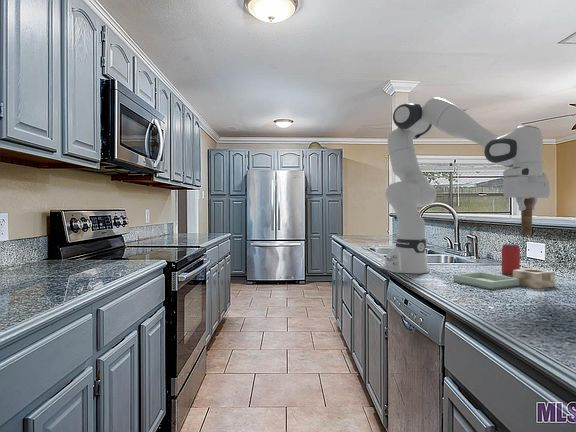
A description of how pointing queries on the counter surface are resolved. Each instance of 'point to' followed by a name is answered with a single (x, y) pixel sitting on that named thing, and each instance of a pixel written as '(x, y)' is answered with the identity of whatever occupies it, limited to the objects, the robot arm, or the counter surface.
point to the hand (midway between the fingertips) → (526, 210)
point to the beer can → (510, 258)
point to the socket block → (535, 278)
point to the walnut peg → (527, 218)
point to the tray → (486, 280)
